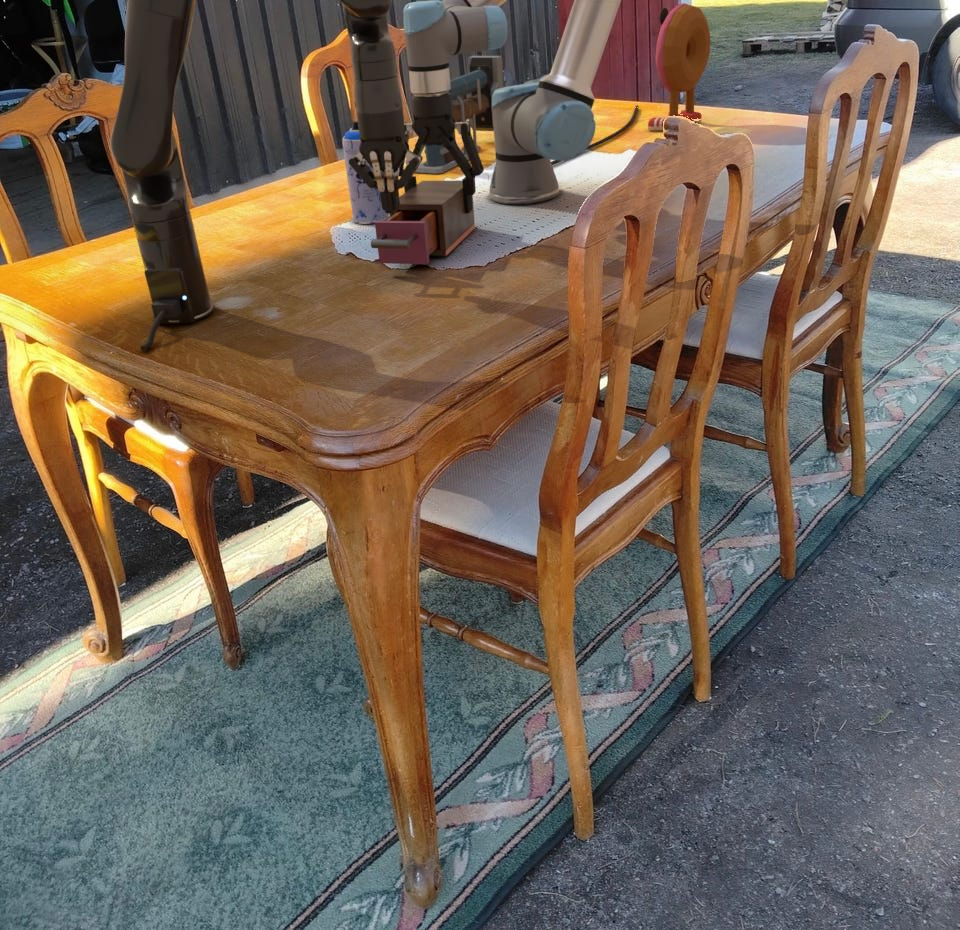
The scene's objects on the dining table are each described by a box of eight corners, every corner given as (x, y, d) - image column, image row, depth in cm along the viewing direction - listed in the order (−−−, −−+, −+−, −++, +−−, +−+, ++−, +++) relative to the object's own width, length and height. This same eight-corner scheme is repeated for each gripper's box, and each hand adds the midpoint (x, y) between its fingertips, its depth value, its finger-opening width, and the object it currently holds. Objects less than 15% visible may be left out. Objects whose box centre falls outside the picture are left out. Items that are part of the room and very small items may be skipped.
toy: (679, 116, 271) (683, -2, 256) (712, 118, 265) (718, -3, 250) (639, 132, 257) (640, 8, 242) (673, 135, 251) (676, 8, 236)
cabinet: (446, 255, 179) (442, 204, 175) (393, 254, 182) (388, 204, 178) (474, 228, 196) (471, 180, 191) (426, 227, 198) (422, 180, 194)
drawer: (416, 274, 167) (412, 231, 163) (367, 273, 169) (362, 231, 166) (456, 237, 187) (453, 198, 183) (411, 236, 189) (408, 198, 185)
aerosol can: (355, 226, 202) (341, 127, 192) (349, 216, 209) (336, 120, 199) (392, 220, 204) (380, 122, 194) (385, 211, 210) (373, 115, 200)
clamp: (440, 173, 235) (432, 80, 224) (410, 172, 239) (400, 80, 228) (506, 140, 261) (501, 55, 250) (478, 139, 264) (472, 55, 254)
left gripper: (425, 101, 158) (434, 206, 167) (350, 102, 162) (363, 205, 171) (409, 110, 152) (420, 219, 161) (332, 112, 156) (347, 218, 164)
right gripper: (495, 87, 180) (502, 206, 191) (380, 91, 186) (393, 205, 197) (484, 95, 174) (492, 217, 185) (366, 98, 180) (380, 216, 191)
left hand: (391, 212), depth 166 cm, fingers closed
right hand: (441, 211), depth 191 cm, fingers closed on cabinet, 10 cm apart
